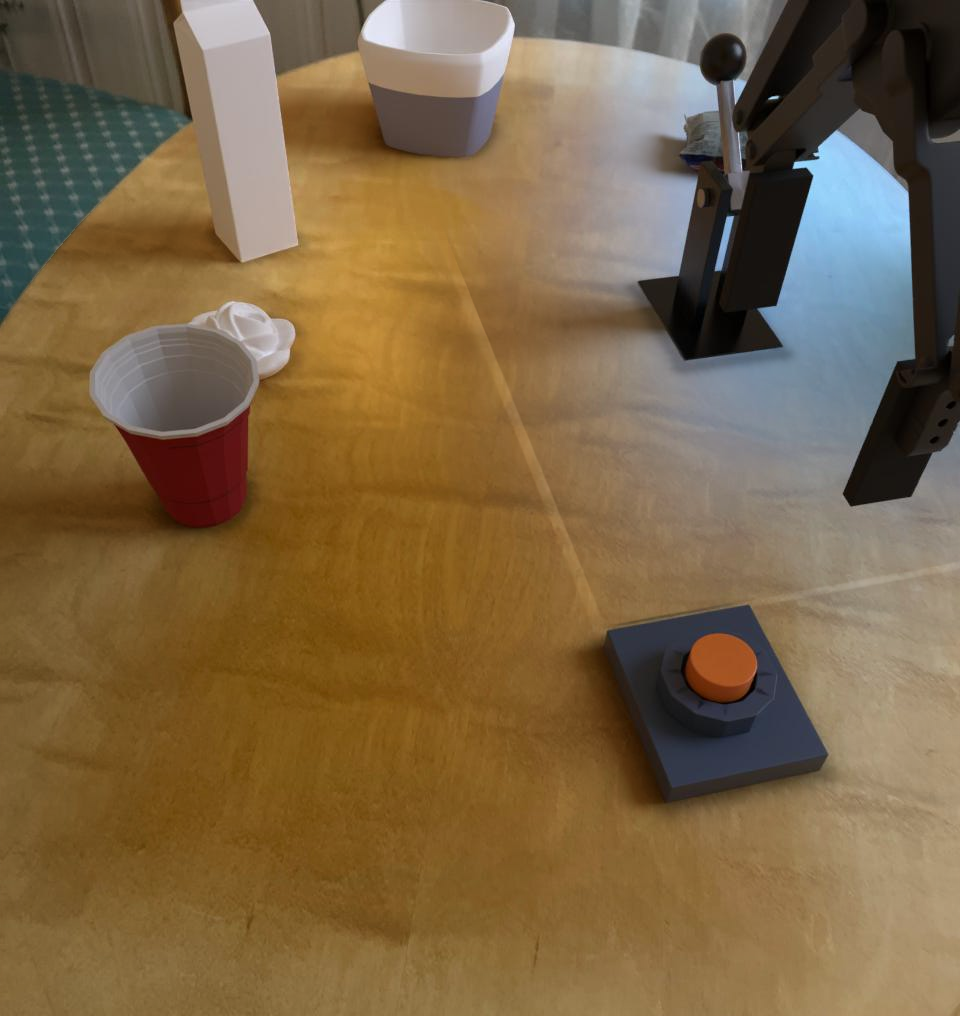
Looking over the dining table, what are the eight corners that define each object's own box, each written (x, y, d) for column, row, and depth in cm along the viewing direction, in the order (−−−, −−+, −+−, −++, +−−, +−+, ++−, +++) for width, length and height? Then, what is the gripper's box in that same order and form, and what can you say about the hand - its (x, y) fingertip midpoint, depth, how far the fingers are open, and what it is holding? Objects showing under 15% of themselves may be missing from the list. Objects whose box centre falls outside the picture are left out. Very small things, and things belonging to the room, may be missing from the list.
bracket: (636, 291, 93) (660, 141, 82) (727, 280, 94) (762, 131, 83) (682, 371, 86) (716, 218, 75) (780, 357, 87) (826, 205, 76)
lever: (689, 46, 80) (708, 26, 76) (732, 42, 80) (752, 23, 77) (707, 220, 82) (725, 209, 79) (748, 216, 83) (768, 204, 79)
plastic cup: (192, 582, 70) (151, 451, 60) (104, 504, 74) (54, 371, 65) (312, 505, 75) (292, 372, 65) (223, 436, 79) (192, 302, 70)
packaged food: (680, 138, 111) (688, 91, 107) (788, 151, 110) (801, 104, 106) (673, 177, 106) (681, 130, 102) (787, 192, 105) (799, 144, 101)
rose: (147, 311, 82) (237, 261, 87) (160, 357, 85) (245, 306, 90) (230, 361, 78) (319, 306, 83) (240, 406, 82) (325, 351, 86)
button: (675, 656, 62) (680, 639, 61) (735, 645, 63) (741, 627, 62) (699, 708, 60) (704, 692, 58) (761, 696, 60) (768, 679, 59)
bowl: (350, 157, 107) (340, 44, 98) (392, 94, 116) (386, -14, 108) (490, 177, 105) (493, 63, 96) (521, 111, 114) (527, 2, 106)
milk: (299, 249, 96) (266, -10, 79) (240, 267, 94) (194, 5, 77) (271, 219, 99) (234, -36, 82) (214, 236, 97) (163, -22, 80)
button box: (602, 650, 67) (609, 612, 64) (742, 624, 69) (755, 585, 65) (664, 806, 60) (676, 772, 57) (818, 773, 61) (838, 738, 58)
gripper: (722, -308, 35) (637, 250, 52) (1181, -50, 20) (855, 616, 37) (917, -313, 36) (772, 235, 53) (1486, -73, 21) (1036, 583, 38)
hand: (806, 392), depth 45 cm, fingers open, 13 cm apart
